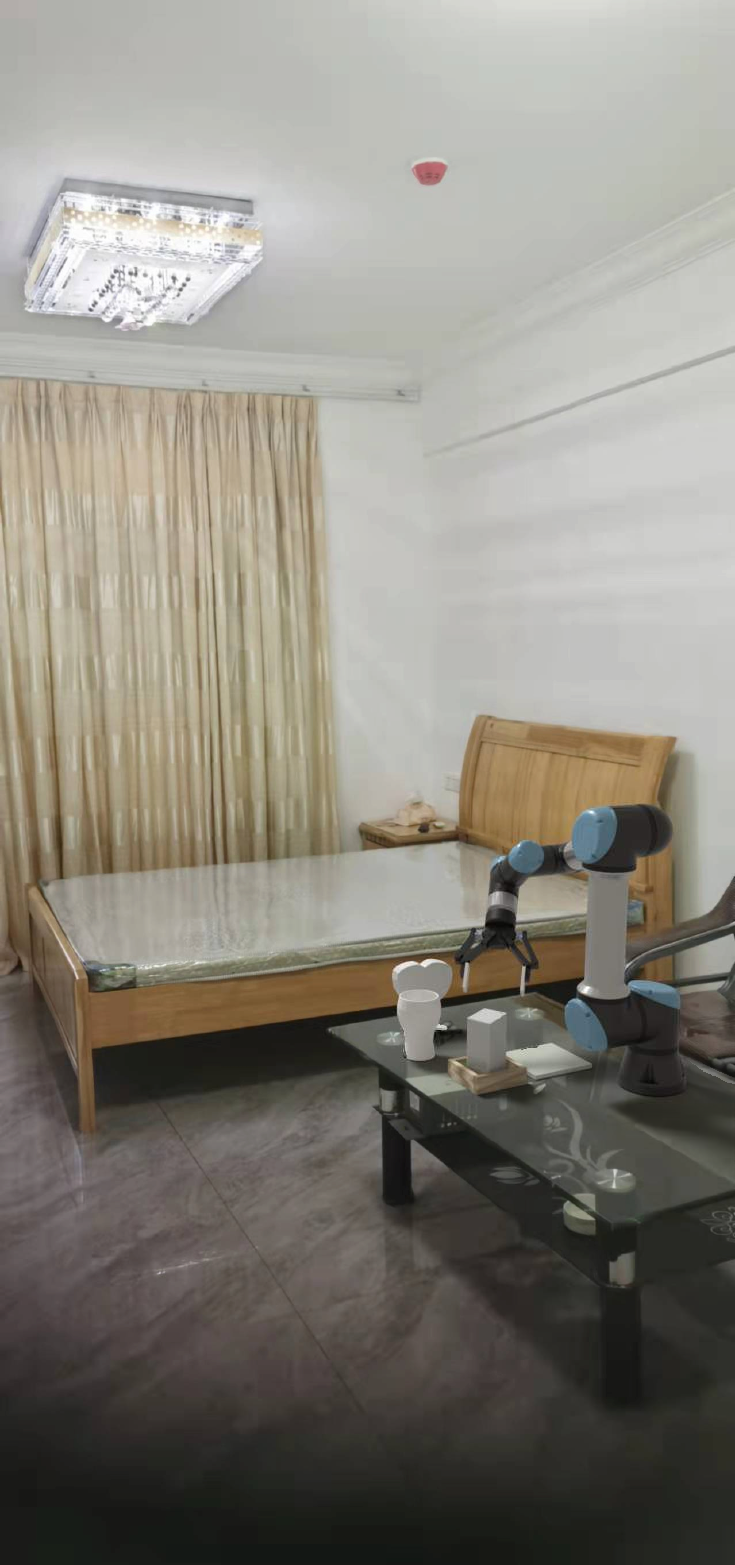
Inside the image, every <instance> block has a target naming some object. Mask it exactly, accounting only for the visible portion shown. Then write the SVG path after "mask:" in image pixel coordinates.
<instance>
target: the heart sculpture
mask: <svg viewBox="0 0 735 1565" xmlns="http://www.w3.org/2000/svg"><path fill="white" fill-rule="evenodd" d="M391 980H392V987H393V989H394V990H395V992H396V993H397V995H398V997H399V996H400V994H401V993H403V992H405V991H409V990H428V991H432V992H435V993H437V994H438V995H439V999H440V1001H441V1000H442V999H443V998H444V997H445V995H447V993H448V991H449V989H450V987H451V986H452V982H453V981H452V980H453V968H452V966H451V965H449V964H448V963H447V962H445V961H443V960H440V959H434V958H427V959H425V960H423V961H422V962H420V963H419V962H417V961H414V960H410V961H405V962H402V963H400V964H398V965H396V966H395V967H394V968H393V970H392V974H391ZM435 1030H441V1031H447V1030H448V1026H446V1025H444V1024H442V1025H440V1023H438V1025H437V1027H436V1029H435Z"/></svg>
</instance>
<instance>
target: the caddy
mask: <svg viewBox="0 0 735 1565" xmlns="http://www.w3.org/2000/svg"><path fill="white" fill-rule="evenodd" d="M447 1077H448V1078H449V1079H451V1080H453V1081H454V1082H456V1083H457V1084H459V1085H461V1086H462V1087H463V1088H465V1089H466V1090H468V1091H469V1092H471V1093H473V1094H475V1095H476V1096H478V1095H482V1094H486V1093H491V1092H492V1093H493V1092H497V1091H502V1090H505V1089H509V1088H510V1089H511V1088H515V1087H520V1086H524V1085H527V1079H528V1078H527V1077H528V1075H527V1067H525V1066H524V1065H522V1064H520V1063H518V1062H517V1061H515V1060H513V1059H511V1058H510V1057H508V1056H506V1069H504V1070H500V1071H495V1072H490V1073H485V1074H480V1075H478V1074H476V1073H475V1072H473V1071H471V1070H470V1069H468V1068H467V1055H464V1056H459V1057H455V1058H449V1059H447Z"/></svg>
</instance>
